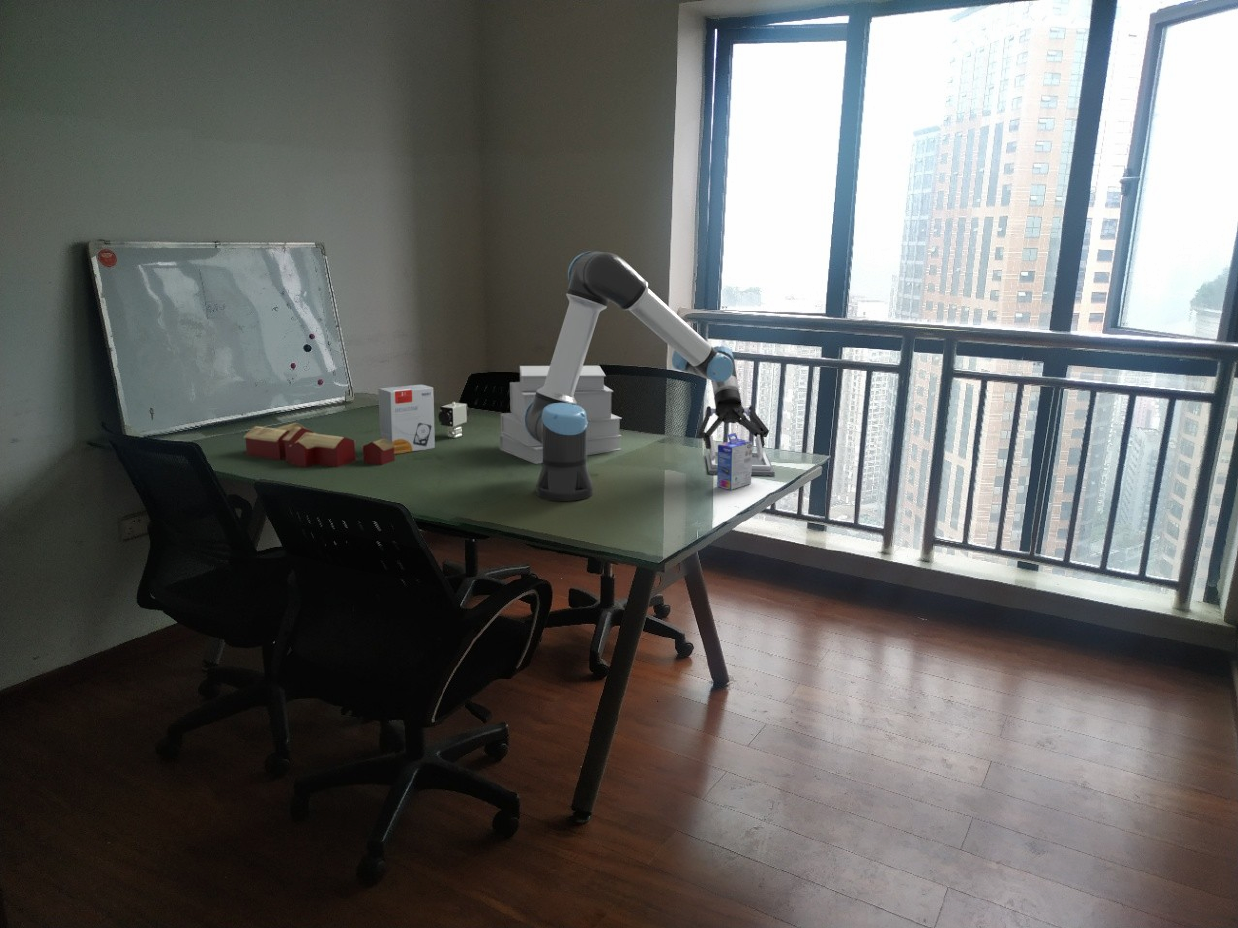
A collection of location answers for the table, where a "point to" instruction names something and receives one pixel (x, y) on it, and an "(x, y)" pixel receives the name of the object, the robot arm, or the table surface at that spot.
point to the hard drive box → (407, 417)
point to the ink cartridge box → (734, 463)
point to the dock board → (757, 465)
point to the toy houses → (312, 447)
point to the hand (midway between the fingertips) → (737, 457)
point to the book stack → (587, 396)
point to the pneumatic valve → (454, 417)
